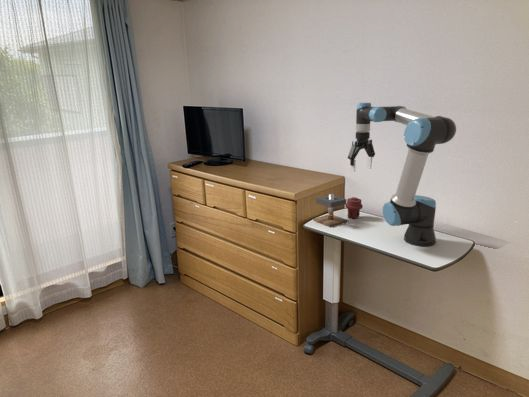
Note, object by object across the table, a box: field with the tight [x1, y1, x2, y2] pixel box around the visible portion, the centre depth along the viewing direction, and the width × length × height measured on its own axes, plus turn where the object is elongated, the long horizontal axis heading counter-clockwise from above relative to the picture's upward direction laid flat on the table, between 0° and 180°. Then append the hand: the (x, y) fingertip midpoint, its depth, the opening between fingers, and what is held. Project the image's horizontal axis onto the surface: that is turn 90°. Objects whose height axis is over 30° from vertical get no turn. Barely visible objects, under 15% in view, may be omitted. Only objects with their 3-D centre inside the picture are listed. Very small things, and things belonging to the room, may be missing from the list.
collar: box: [315, 195, 347, 208], centre depth 233 cm, size 12×12×3 cm
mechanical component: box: [344, 196, 363, 220], centre depth 241 cm, size 12×10×10 cm
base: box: [313, 214, 349, 228], centre depth 236 cm, size 14×14×2 cm
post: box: [327, 193, 335, 220], centre depth 234 cm, size 3×3×15 cm
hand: (361, 169), depth 226 cm, fingers open, 13 cm apart
